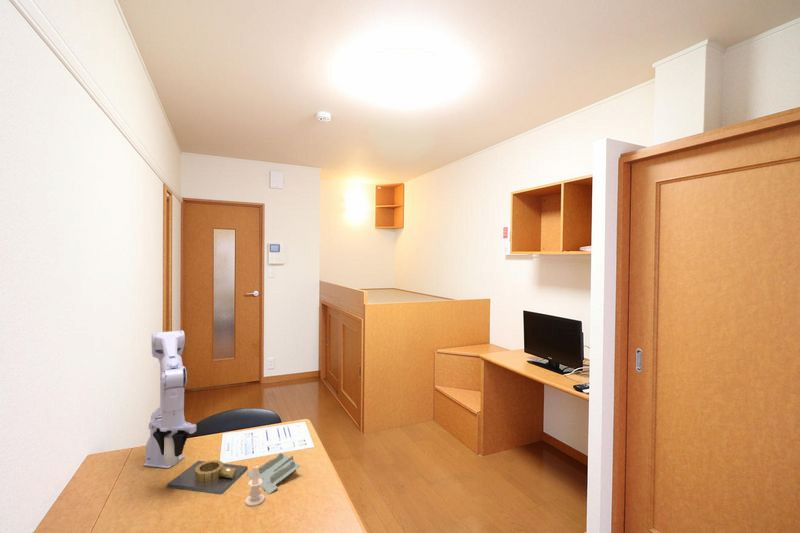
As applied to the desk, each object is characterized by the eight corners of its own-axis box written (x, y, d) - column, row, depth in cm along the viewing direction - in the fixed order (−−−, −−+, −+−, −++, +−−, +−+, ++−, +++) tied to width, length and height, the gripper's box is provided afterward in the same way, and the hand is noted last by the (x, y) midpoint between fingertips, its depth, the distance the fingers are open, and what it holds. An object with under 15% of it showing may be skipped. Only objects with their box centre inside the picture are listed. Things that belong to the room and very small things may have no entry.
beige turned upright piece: (241, 501, 110) (242, 465, 110) (257, 493, 114) (258, 458, 114) (251, 508, 107) (252, 471, 107) (268, 500, 111) (269, 464, 111)
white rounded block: (160, 465, 114) (161, 438, 114) (170, 458, 118) (171, 432, 117) (172, 466, 113) (173, 439, 113) (182, 459, 117) (182, 433, 117)
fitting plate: (167, 487, 116) (167, 474, 116) (198, 463, 130) (198, 452, 130) (221, 494, 113) (222, 481, 113) (247, 469, 127) (247, 457, 127)
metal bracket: (280, 445, 133) (304, 461, 123) (284, 459, 134) (308, 476, 124) (241, 472, 123) (264, 491, 113) (245, 487, 124) (268, 508, 114)
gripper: (140, 412, 112) (139, 458, 112) (185, 416, 110) (183, 463, 110) (159, 403, 119) (158, 446, 119) (201, 407, 117) (200, 451, 117)
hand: (171, 454), depth 115 cm, fingers closed on white rounded block, 4 cm apart
